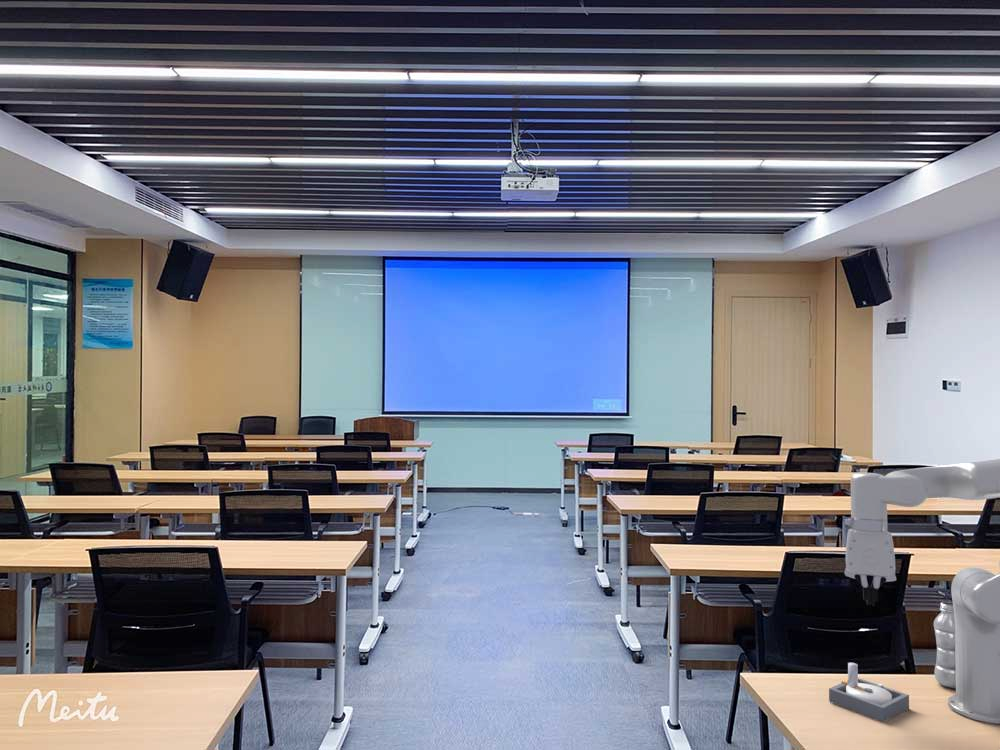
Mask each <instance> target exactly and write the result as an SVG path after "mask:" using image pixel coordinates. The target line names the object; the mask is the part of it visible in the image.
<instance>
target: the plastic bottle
mask: <svg viewBox="0 0 1000 750" xmlns="http://www.w3.org/2000/svg"><path fill="white" fill-rule="evenodd" d="M939 604H940V605H939V606H940V607H939V611H940V613H939V614H938V615H937V616H936V617H935V619H934V620H933V628H934V629H933V630H934V635H935V640H936V641H935V643H936V658H935V660H936V662H935V665H934V672H933V673H934V677H935V678H934V679H935V680H936V682H937V683H938V684H939V685H942V686H943V687H946V688H949V689H950V688H952V689H956V660H955V616H954V608H953V601H952V602H950V601H941V602H940V603H939Z"/></svg>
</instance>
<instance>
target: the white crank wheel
mask: <svg viewBox="0 0 1000 750" xmlns="http://www.w3.org/2000/svg"><path fill="white" fill-rule="evenodd" d="M858 666H859V665H858V663H855V662H847V681H848V685H847V686H846V693H848V694H851V695H854V696H856V697H859V698H862V699H865V700H868V701H870V702H873V703H876V704H879V705H882V704H884V703H886V702H888V701H890V700H892V695H891V693H890V692H888V691H887V690H885V689H883V688H881V687H878V686H874V685H870V684H864V683H858V678H859V671H858V669H859V668H858Z"/></svg>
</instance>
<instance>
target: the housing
mask: <svg viewBox="0 0 1000 750" xmlns="http://www.w3.org/2000/svg"><path fill="white" fill-rule="evenodd" d="M858 683H864V684H870V685H874V686H878V687H881V688H883V689H885V690H887V691H888V692H890V693H891V695H892V700H890V701H888V702H886V703H884V704H882V705H879V704H876V703H873V702H870V701H868V700H865V699H862V698H859V697H856V696H854V695H851V694H848V693H846V686H847V685H848V680H841V683H839V684H836V685H835V686H832V687H830V688H828V702H829V701H830V702H829V703H831V702H833V703H832V704H834V703H835V704H834V705H836V704H838V705H837V706H839V705H840V706H839V707H842V708H844V707H845V709H847V708H848V709H847V710H850V711H852V710H854V711H853V712H855V711H856V712H855V713H858V712H859V713H858V714H860V713H861V714H860V715H863V714H864V715H863V716H866V715H867V716H866V717H868V716H870V717H869V718H871V717H872V718H871V719H874V718H875V719H874V720H876V719H877V721H879V722H881V721H882V723H885V722H887V721H888V720H890V719H892V718H894V717H895V716H898V715H899V713H900V714H902V713H903V712H905V711H907V710H908V709H910V694H908V693H904V692H902V691H901V692H900V691H899V690H895V689H892V688H889V687H886V686H884V684H882V683H873V681H872V682H871V681H867V680H865V679H862V678H859V677H858ZM901 712H902V713H901ZM897 714H898V715H897ZM886 720H887V721H886ZM884 721H885V722H884Z"/></svg>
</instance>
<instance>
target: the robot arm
mask: <svg viewBox="0 0 1000 750" xmlns="http://www.w3.org/2000/svg"><path fill="white" fill-rule="evenodd" d="M935 498H936V499H937V498H938V499H939V498H944V499H945V498H950V499H959V500H967V501H968V500H969V501H983V500H992V499H998V498H1000V458H998V459H996V458H995V459H991V460H982V461H981V460H980V461H973V462H972V461H971V462H963V463H954V464H946V465H937V466H925V467H924V466H923V467H917V468H909V469H900V470H894V471H891V472H889V473H887V474H886V475H883V474H880V473H876V472H855V473H853V474H851V477H850V511H851V512H850V517H849V518H844V525H848V526H849V527H851V528H849V529H848V530H847V535H846V542H845V544H846V545H845V569H844V576H846V577H849V578H851V579H855V580H856V581H857V582H858V583H859V585H861V586H862V598H863V601H865V603H866V605H867V606H870V605H871V606H874V607H875V605H876V602H877V603H878V601H879V591H878V590H879V588H880V587H881V586H883V585H884V584H885V583H886V582H887V583H888V582H889V583H890V582H896V581H897V576H896V556H895V547H894V540H893V535H892V533H891V532H889V531H888V505H889V506H890V505H891V506H896V507H897V506H898V507H904V508H914V507H918V506H920V505H922V504H923V503H924V502H926V500H927V499H935ZM998 564H999V565H998V566H999V568H1000V561H999V563H998ZM867 576H871V577H873V579H872V582H871V585H870V584H869V582H868V579H867ZM950 587H951V592H950V594H951V598H952V603H953V608H954V616H955V660H956V688H955V694H954V695H951V696H949V697H948V698H947V705H948V707H949V708H950V709H951V710H952V711H954V712H955V713H957V714H959V715H961V716H963V717H966V718H969V719H972V720H975V721H979V722H984V723H988V724H996V725H1000V572H998V573H997V574H994V573H993V572H990V571H988V570H986V569H983V568H980V567H967V568H964V569H962V570H960V571H958V572H957V573H956V574H955V576H953V579H952V582H951V586H950Z"/></svg>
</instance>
